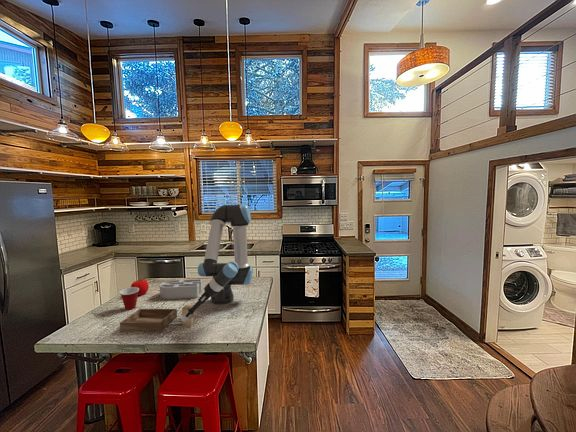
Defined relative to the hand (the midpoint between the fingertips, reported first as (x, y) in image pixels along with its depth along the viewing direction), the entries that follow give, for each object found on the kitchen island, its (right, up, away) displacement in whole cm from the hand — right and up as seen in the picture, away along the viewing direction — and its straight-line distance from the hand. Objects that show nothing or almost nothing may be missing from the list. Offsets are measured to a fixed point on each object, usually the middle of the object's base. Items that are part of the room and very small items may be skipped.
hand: (188, 314), depth 148 cm
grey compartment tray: (-23, -4, +48) cm, 54 cm away
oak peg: (0, -6, +1) cm, 6 cm away
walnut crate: (-22, -6, +3) cm, 23 cm away
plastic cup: (-46, -5, +25) cm, 52 cm away
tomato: (-54, -4, +50) cm, 73 cm away
